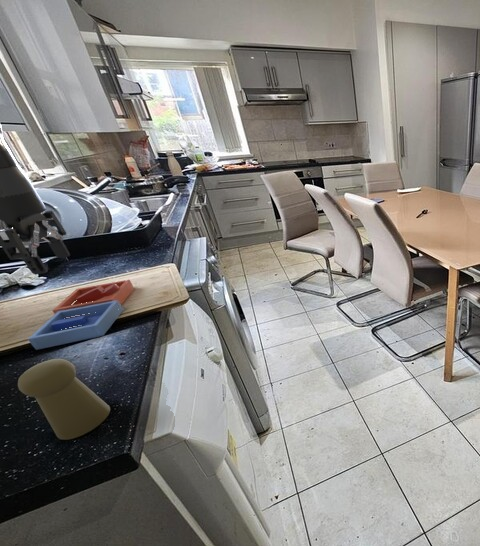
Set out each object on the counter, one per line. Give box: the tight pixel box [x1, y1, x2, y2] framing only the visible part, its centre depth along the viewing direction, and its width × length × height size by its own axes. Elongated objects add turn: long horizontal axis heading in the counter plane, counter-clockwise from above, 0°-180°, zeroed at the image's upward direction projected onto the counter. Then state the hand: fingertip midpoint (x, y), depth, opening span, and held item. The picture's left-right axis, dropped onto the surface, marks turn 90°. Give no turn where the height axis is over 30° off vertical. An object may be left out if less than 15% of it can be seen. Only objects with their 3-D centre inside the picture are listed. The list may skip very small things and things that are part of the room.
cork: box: [17, 358, 111, 441], centre depth 44 cm, size 6×6×11 cm
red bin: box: [51, 279, 135, 315], centre depth 76 cm, size 11×10×3 cm
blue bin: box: [27, 300, 124, 351], centre depth 67 cm, size 11×10×3 cm
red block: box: [76, 284, 119, 303], centre depth 75 cm, size 8×3×2 cm, turn 109°
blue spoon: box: [51, 315, 101, 332], centre depth 67 cm, size 8×3×2 cm, turn 110°
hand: (53, 264), depth 70 cm, fingers open, 8 cm apart
